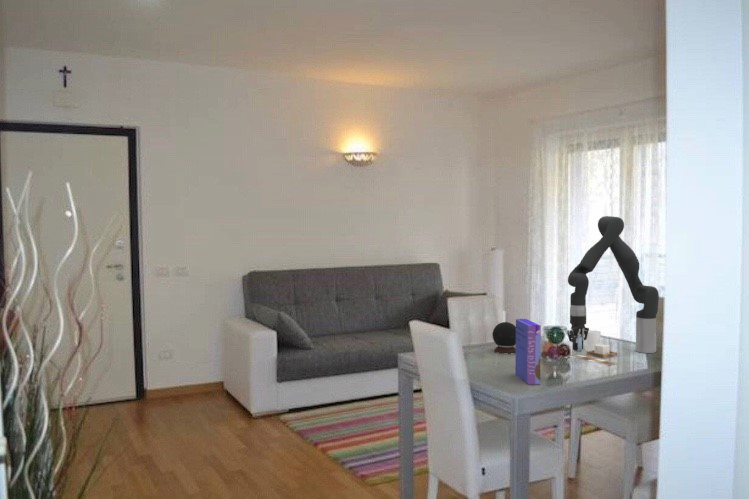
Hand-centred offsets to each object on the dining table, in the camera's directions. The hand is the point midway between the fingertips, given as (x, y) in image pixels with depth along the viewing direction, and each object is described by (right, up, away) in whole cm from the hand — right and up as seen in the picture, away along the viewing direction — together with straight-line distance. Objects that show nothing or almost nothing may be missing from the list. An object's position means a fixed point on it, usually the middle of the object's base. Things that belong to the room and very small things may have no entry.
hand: (578, 349), depth 301 cm
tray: (+12, -4, +2) cm, 13 cm away
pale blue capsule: (0, -1, 0) cm, 1 cm away
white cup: (+12, -3, +15) cm, 20 cm away
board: (+4, -4, -7) cm, 9 cm away
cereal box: (-35, -6, -42) cm, 55 cm away
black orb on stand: (-32, -4, +14) cm, 35 cm away
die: (+12, -3, +2) cm, 13 cm away
